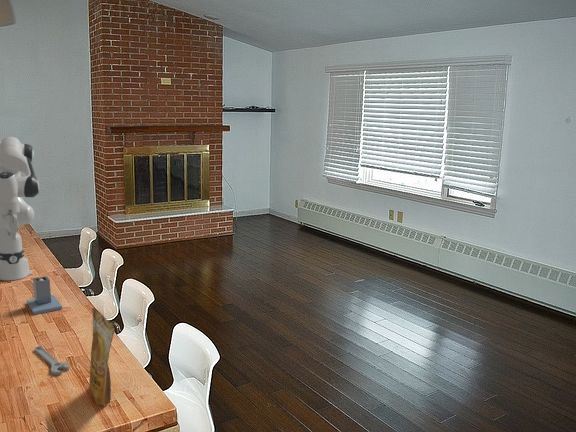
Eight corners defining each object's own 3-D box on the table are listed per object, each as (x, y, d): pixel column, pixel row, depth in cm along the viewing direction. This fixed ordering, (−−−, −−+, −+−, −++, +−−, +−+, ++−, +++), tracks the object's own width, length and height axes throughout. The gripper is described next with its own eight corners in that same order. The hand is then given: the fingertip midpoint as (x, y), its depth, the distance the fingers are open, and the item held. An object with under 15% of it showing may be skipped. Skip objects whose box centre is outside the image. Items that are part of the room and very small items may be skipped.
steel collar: (34, 300, 254) (32, 278, 251) (48, 298, 257) (46, 276, 254) (37, 305, 249) (35, 282, 246) (51, 302, 252) (49, 279, 250)
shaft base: (26, 303, 255) (24, 277, 252) (54, 297, 261) (52, 273, 258) (33, 314, 242) (31, 288, 239) (62, 309, 249) (60, 283, 246)
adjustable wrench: (33, 351, 210) (33, 347, 210) (50, 346, 214) (50, 342, 214) (53, 377, 191) (53, 372, 191) (72, 371, 195) (72, 367, 195)
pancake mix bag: (106, 378, 191) (101, 304, 184) (119, 406, 175) (115, 325, 168) (86, 383, 187) (81, 307, 181) (98, 411, 171) (92, 329, 165)
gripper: (20, 212, 240) (23, 242, 243) (12, 203, 256) (15, 231, 259) (4, 213, 236) (7, 244, 240) (-3, 205, 253) (0, 233, 256)
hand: (11, 237), depth 250 cm, fingers open, 8 cm apart
